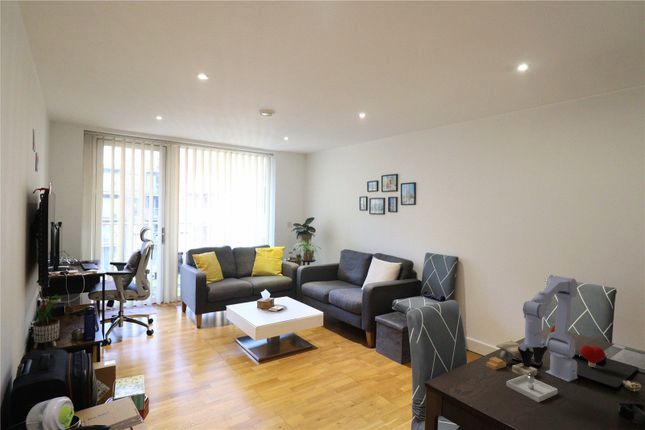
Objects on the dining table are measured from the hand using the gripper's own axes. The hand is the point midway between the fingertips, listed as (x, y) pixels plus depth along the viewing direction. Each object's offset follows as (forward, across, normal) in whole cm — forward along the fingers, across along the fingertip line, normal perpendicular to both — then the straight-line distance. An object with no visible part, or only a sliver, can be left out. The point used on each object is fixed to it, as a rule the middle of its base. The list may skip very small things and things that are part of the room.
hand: (532, 364), depth 138 cm
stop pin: (+10, 0, 0) cm, 10 cm away
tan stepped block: (+11, +7, +20) cm, 24 cm away
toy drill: (+11, +55, +17) cm, 59 cm away
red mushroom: (+11, +47, -1) cm, 48 cm away
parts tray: (+10, 0, 0) cm, 10 cm away
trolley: (+10, +18, +20) cm, 29 cm away
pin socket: (+10, +12, +10) cm, 19 cm away
